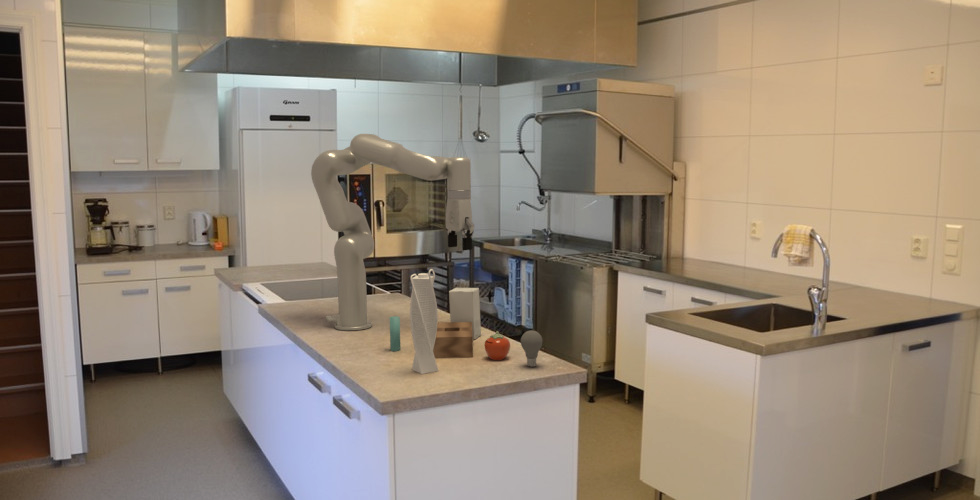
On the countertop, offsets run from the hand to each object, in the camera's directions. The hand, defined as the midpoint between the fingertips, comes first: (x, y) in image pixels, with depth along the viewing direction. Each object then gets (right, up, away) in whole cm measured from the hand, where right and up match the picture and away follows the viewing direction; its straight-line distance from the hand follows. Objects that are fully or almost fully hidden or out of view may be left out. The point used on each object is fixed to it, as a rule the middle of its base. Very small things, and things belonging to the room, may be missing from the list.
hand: (459, 248), depth 256 cm
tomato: (+12, -32, -31) cm, 46 cm away
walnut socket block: (-2, -30, -19) cm, 36 cm away
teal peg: (-18, -30, -20) cm, 41 cm away
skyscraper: (-8, -33, -43) cm, 55 cm away
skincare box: (+2, -29, -4) cm, 29 cm away
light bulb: (+21, -33, -40) cm, 56 cm away
